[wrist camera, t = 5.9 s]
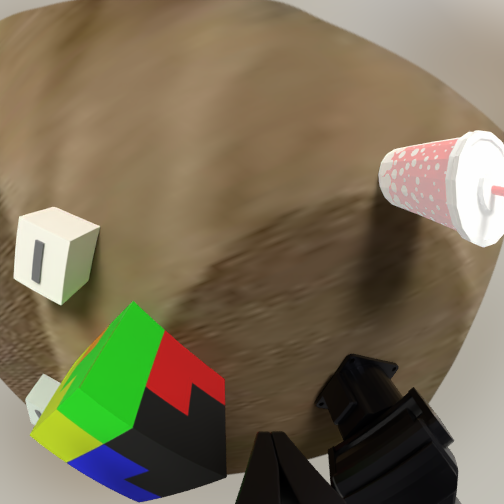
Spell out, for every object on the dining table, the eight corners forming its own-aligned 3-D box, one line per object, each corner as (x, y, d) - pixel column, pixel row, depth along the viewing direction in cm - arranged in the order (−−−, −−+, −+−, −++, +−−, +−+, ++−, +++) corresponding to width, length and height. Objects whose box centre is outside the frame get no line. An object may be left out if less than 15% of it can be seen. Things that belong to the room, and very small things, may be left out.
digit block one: (100, 226, 18) (68, 242, 14) (88, 280, 19) (59, 306, 15) (54, 206, 17) (17, 217, 13) (45, 259, 18) (12, 279, 14)
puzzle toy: (155, 422, 23) (138, 502, 14) (75, 361, 21) (29, 435, 11) (224, 378, 22) (226, 477, 13) (133, 300, 20) (78, 387, 10)
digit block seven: (78, 391, 22) (62, 422, 17) (79, 415, 23) (65, 443, 18) (43, 373, 21) (24, 400, 17) (46, 398, 22) (30, 424, 18)
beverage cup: (381, 228, 20) (534, 304, 6) (359, 149, 18) (533, 138, 4) (437, 203, 19) (578, 247, 6) (419, 131, 18) (572, 125, 4)
